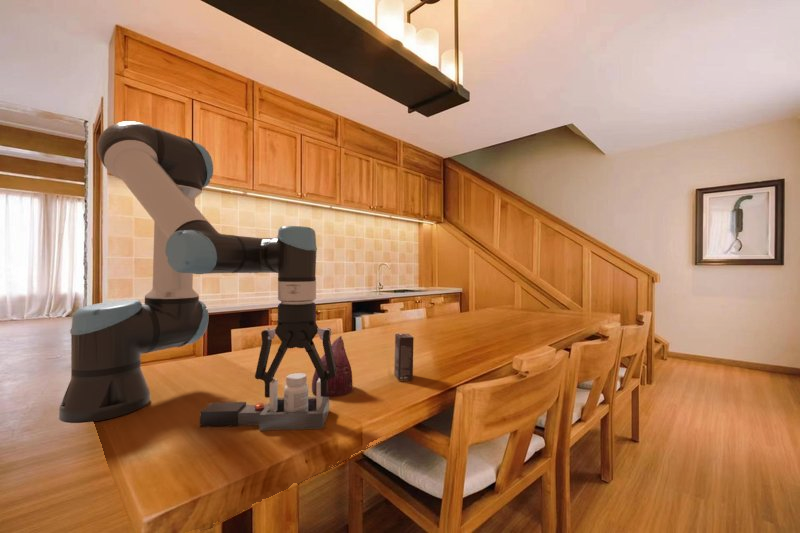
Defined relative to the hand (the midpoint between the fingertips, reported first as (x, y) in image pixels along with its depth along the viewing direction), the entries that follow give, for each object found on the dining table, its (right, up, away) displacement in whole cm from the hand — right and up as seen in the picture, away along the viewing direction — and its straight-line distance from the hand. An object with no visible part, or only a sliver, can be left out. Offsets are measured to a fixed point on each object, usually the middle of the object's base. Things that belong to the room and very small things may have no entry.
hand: (296, 412), depth 70 cm
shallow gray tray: (-6, -2, 0) cm, 6 cm away
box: (+22, -2, +27) cm, 35 cm away
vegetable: (+4, -2, +17) cm, 18 cm away
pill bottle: (0, -1, 0) cm, 1 cm away
